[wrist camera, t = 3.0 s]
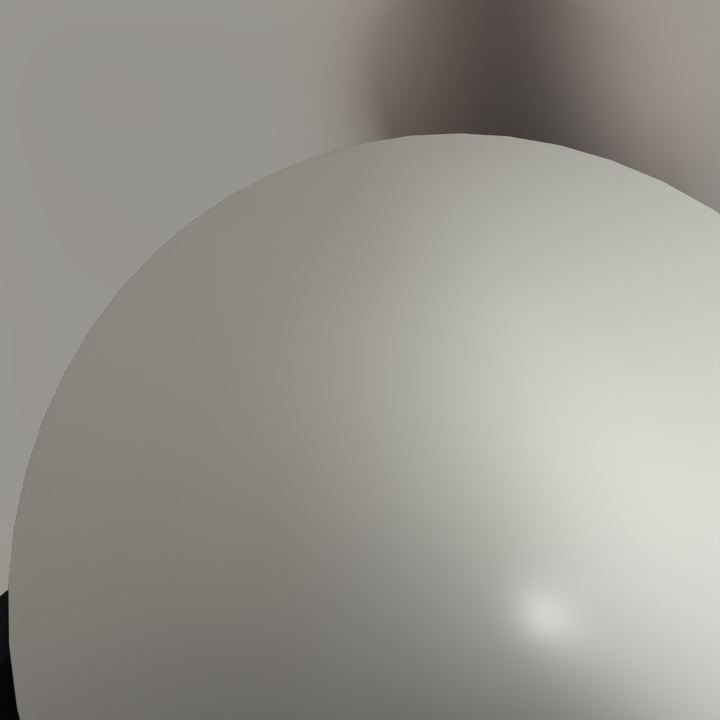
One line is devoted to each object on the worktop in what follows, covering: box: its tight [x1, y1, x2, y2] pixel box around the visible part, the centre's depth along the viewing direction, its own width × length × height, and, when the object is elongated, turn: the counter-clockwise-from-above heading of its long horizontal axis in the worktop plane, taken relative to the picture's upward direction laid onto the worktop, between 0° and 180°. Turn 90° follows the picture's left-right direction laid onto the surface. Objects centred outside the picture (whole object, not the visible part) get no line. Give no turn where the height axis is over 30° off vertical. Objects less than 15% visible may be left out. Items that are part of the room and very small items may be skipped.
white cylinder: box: [8, 134, 720, 720], centre depth 9 cm, size 5×5×13 cm
